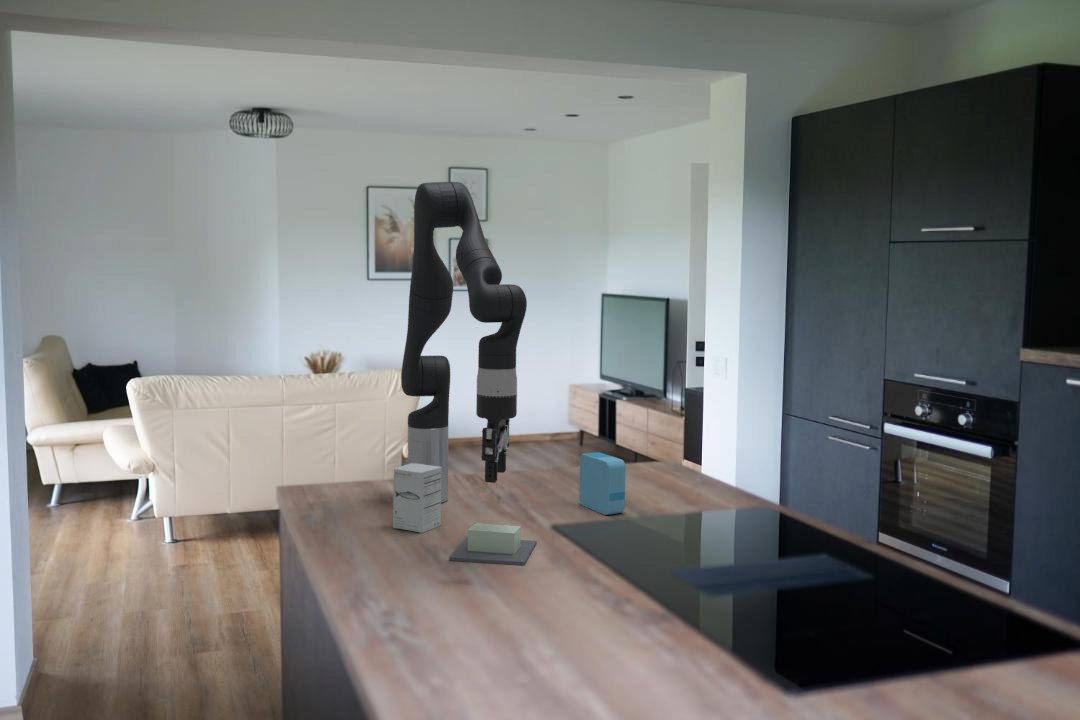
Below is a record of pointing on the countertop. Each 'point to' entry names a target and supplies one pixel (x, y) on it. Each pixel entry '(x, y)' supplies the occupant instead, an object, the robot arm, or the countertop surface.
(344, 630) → the countertop surface
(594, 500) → the blue box
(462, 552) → the mat
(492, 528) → the box
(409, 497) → the supplement box
